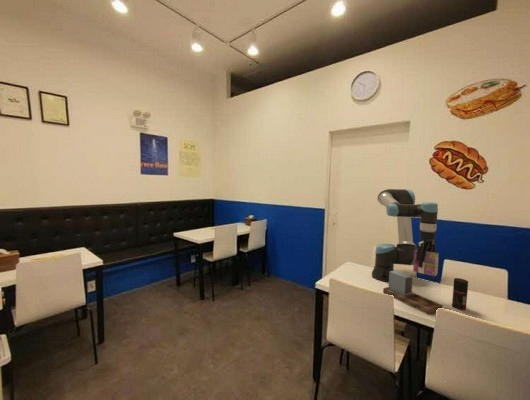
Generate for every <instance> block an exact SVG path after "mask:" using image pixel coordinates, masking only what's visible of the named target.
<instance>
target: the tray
mask: <svg viewBox="0 0 530 400" xmlns="http://www.w3.org/2000/svg"><path fill="white" fill-rule="evenodd" d="M388 288H389V286H388V287H384V288H382V289H383V291H382V292H383V294H385V293H386V294H385V295H387V294H389V295H393V296H394V298H393V299H395V300H397V301H399V302H402V303H404V304H405V305H407V306H410V307H412V308H414V309H416V310H418V311H420V312H423V313H425V315H428V316H431V315H434V314H436V310H437V309H438V308H443V306H444V305H443V304H440V303H439V302H437V301H434V300H432V299H429V298H427V297H426V296H422V295H420V294H418V293H415V292H413V291H412V292H411V294H410V295H407V296H401V295H399V294H397V293H395V292H392V291H390V290H388ZM389 295H388V296H389Z"/></svg>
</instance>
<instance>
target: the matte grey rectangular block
mask: <svg viewBox="0 0 530 400" xmlns="http://www.w3.org/2000/svg"><path fill="white" fill-rule="evenodd" d="M388 287H389V288H388V290H390V291H392V292H395V293H397V294H399V295H401V296H407V295H410V294H411V292H413V275H411V274H407V273H405V272H402V271H399V270H397V269H394V271H390V272H389V282H388Z"/></svg>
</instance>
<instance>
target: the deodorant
mask: <svg viewBox="0 0 530 400" xmlns="http://www.w3.org/2000/svg"><path fill="white" fill-rule="evenodd" d="M468 290H469V281H468V280H467V279H464V278H458V277H455V278H454V279H453V289H452V303H451V307H452V308H454V309H456V310H459V311H466V310H467V302H468V301H467V300H468V292H469V291H468Z"/></svg>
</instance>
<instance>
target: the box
mask: <svg viewBox="0 0 530 400" xmlns="http://www.w3.org/2000/svg"><path fill="white" fill-rule="evenodd" d="M416 255H417V250H415V251H414V265H413V272H414V273H418V274H420V273H419V272H418V266H419V261H417V260H416ZM424 262H425V266H424V274H423V275H428V276H431V277H436V276H437V275H438V270H439V252H436V253H434V252H429V251H426V255H425V258H424Z"/></svg>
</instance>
